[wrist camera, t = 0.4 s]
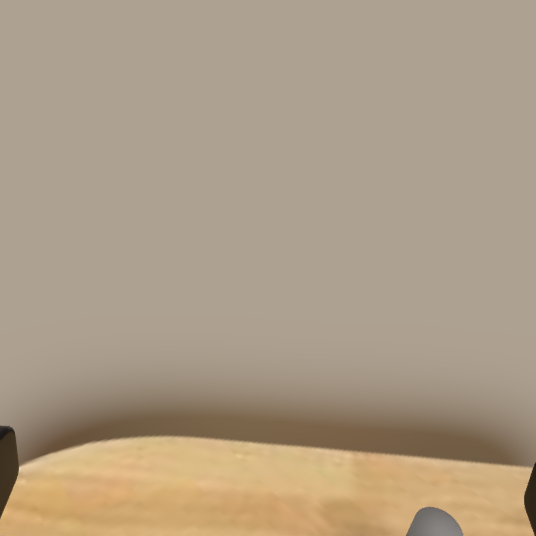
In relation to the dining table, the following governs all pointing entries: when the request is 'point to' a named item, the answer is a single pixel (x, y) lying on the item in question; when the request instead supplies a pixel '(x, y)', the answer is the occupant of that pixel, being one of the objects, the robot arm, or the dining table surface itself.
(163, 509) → the dining table surface
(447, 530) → the plate with peg
